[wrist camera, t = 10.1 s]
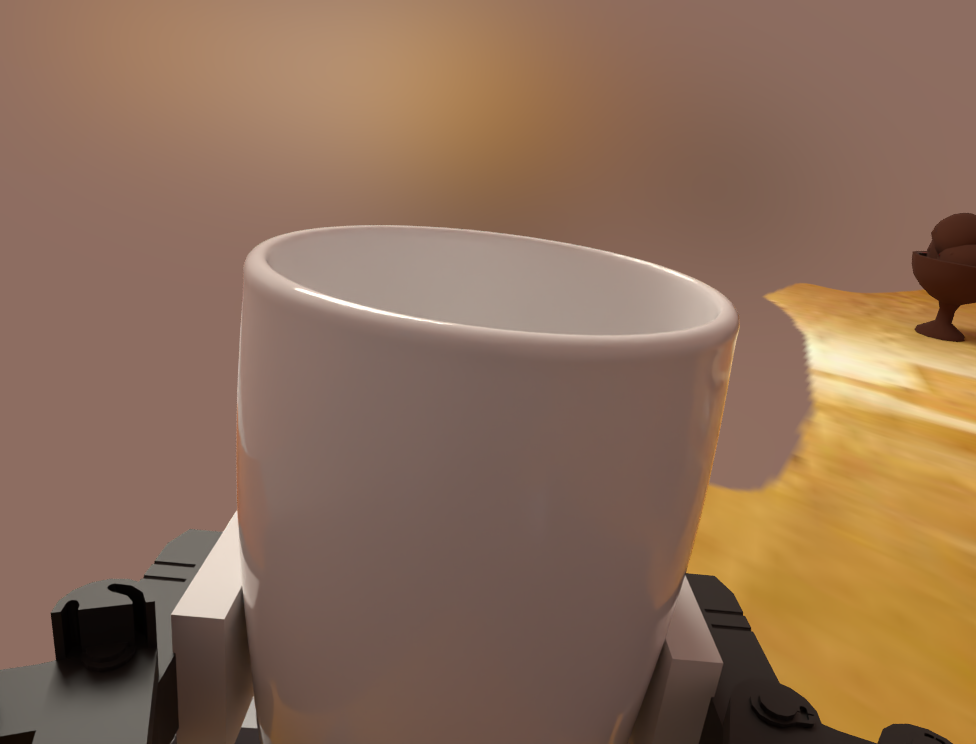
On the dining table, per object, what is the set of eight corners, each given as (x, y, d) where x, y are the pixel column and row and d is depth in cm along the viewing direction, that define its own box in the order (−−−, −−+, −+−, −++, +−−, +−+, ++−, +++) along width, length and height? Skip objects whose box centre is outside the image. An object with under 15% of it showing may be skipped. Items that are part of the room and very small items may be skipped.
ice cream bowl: (985, 354, 83) (1032, 224, 78) (881, 329, 89) (918, 207, 84) (995, 339, 91) (1038, 220, 86) (899, 317, 97) (933, 205, 92)
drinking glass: (161, 1023, 14) (115, 240, 9) (389, 778, 19) (440, 214, 14) (451, 1344, 11) (638, 400, 6) (623, 940, 16) (795, 287, 11)
